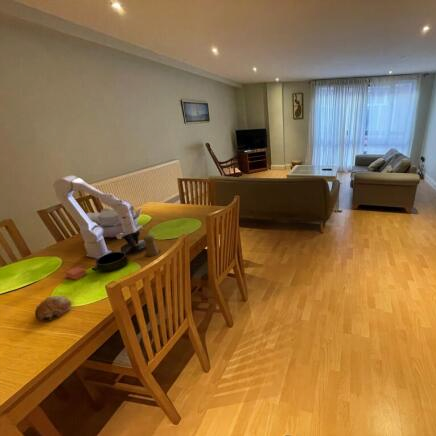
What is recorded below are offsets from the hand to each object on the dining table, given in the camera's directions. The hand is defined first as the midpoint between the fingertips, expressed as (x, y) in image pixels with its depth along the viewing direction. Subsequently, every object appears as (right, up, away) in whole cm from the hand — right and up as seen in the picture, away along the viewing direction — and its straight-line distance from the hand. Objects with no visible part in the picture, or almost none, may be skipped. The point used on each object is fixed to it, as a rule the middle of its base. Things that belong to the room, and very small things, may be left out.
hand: (133, 244), depth 137 cm
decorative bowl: (-23, +4, +20) cm, 31 cm away
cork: (+12, -5, -3) cm, 13 cm away
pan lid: (0, -1, 0) cm, 1 cm away
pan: (-1, -9, -14) cm, 17 cm away
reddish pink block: (-13, -13, -22) cm, 28 cm away
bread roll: (-2, -22, -44) cm, 49 cm away
